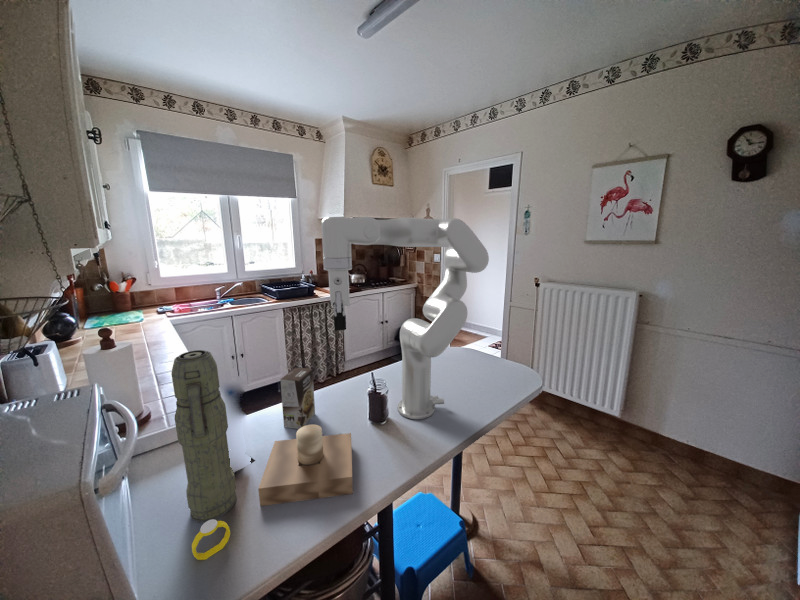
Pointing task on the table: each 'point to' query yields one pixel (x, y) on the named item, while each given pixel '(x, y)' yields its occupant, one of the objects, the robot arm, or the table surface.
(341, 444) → the board
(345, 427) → the table surface
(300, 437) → the peg
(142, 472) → the table surface
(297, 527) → the table surface
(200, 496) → the thermos
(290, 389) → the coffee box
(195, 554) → the watch
